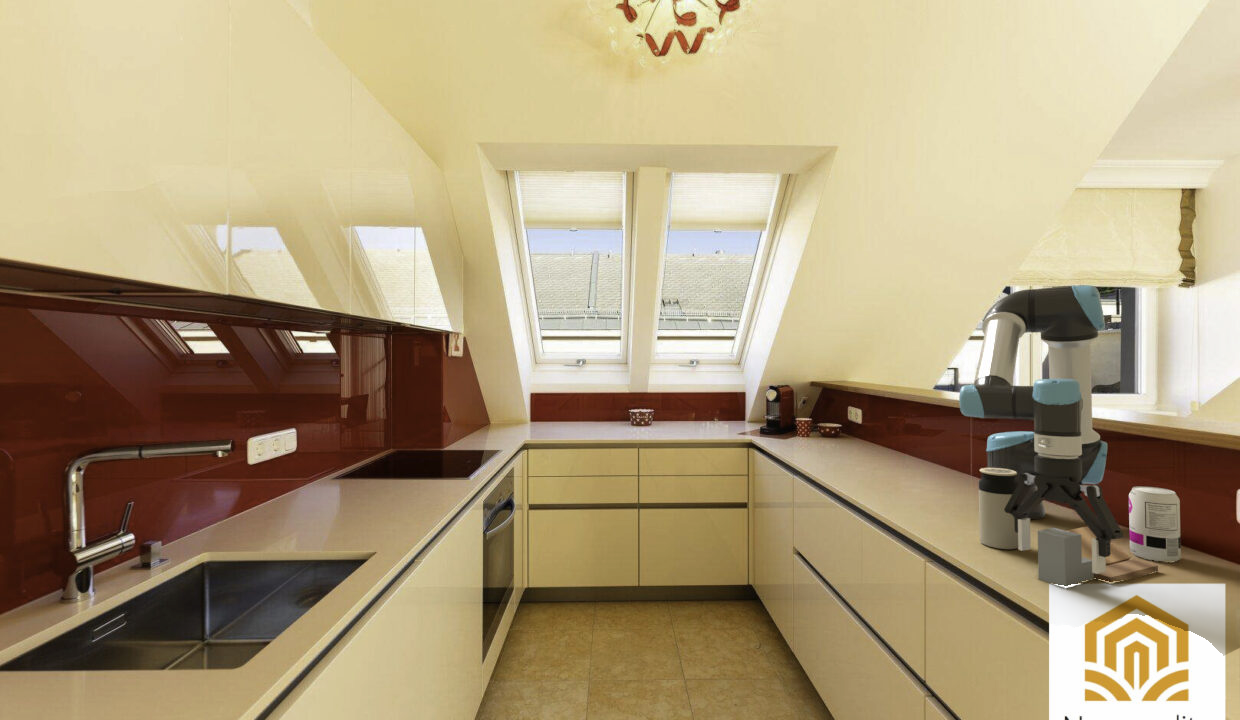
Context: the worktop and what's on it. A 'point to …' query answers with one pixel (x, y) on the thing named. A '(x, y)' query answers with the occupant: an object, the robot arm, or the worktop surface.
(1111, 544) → the plank
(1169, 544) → the supplement can
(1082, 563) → the block
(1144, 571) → the laid row
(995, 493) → the travel mug
